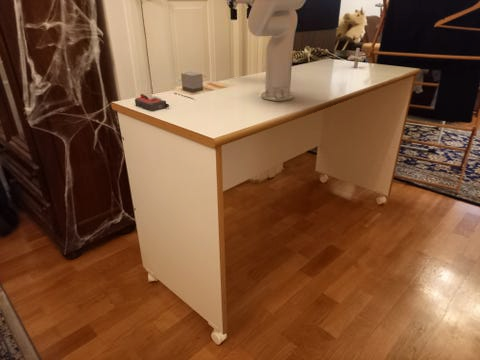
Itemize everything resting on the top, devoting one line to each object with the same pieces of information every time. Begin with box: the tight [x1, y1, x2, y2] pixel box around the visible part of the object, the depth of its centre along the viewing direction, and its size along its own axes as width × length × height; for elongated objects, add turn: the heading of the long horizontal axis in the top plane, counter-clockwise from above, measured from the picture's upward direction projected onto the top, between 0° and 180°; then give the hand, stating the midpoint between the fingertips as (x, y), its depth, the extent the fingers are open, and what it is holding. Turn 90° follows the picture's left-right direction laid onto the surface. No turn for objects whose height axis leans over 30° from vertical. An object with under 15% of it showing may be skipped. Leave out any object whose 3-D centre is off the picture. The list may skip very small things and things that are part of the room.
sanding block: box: [180, 71, 204, 93], centre depth 139 cm, size 5×7×6 cm
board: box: [173, 81, 234, 100], centre depth 144 cm, size 22×12×2 cm, turn 134°
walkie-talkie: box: [134, 92, 170, 112], centre depth 127 cm, size 9×4×20 cm
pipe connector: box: [347, 47, 367, 69], centre depth 187 cm, size 10×10×10 cm
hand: (242, 19), depth 145 cm, fingers open, 9 cm apart
